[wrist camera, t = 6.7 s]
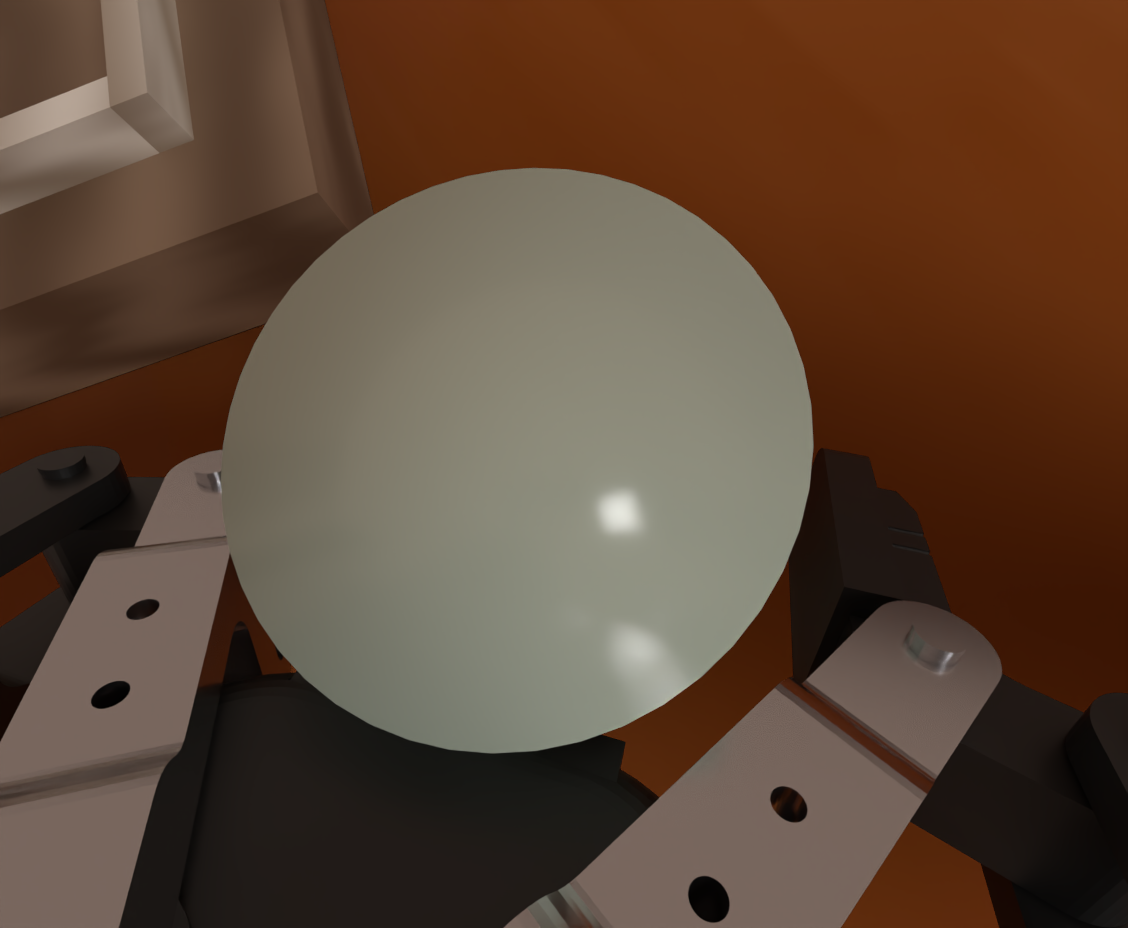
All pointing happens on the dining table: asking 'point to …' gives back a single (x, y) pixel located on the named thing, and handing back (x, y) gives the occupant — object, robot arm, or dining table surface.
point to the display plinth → (161, 178)
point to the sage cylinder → (517, 460)
